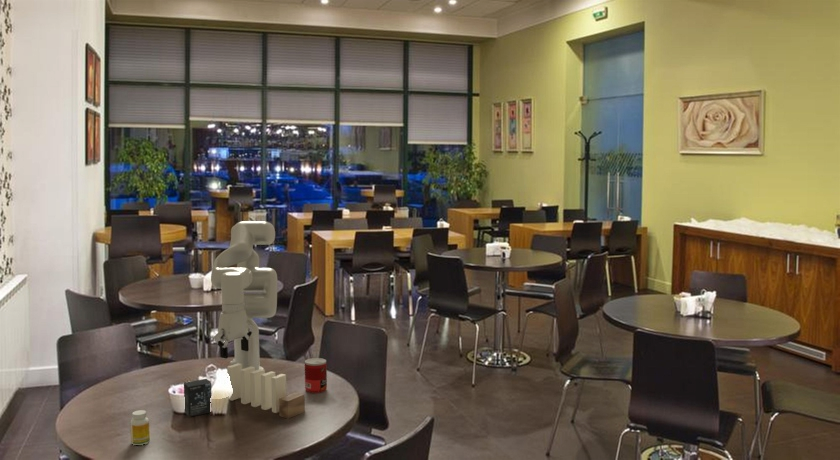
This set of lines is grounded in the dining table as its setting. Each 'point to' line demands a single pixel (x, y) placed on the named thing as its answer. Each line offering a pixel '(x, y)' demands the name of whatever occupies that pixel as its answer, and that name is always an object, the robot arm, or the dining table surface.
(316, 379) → the canned food
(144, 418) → the supplement bottle
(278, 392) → the domino
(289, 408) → the end block
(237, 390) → the domino
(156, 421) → the dining table surface
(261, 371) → the domino
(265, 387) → the domino
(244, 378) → the domino
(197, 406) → the box
